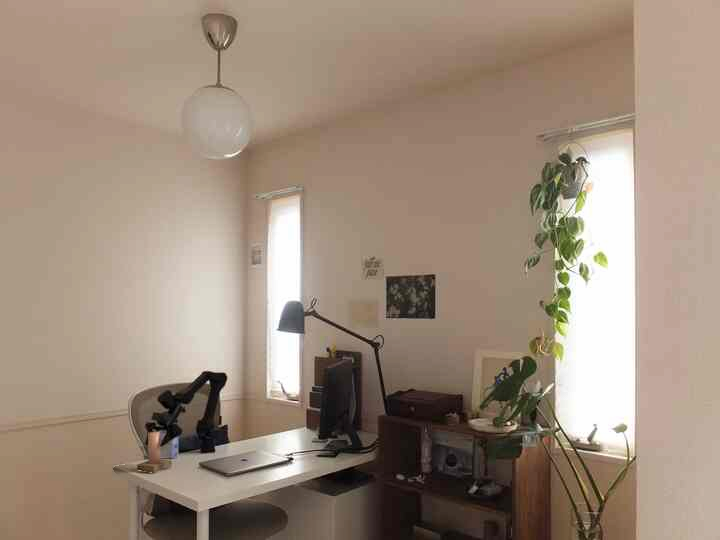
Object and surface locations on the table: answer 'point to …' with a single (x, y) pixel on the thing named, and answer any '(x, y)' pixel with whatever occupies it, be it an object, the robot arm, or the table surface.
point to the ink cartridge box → (168, 447)
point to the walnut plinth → (154, 466)
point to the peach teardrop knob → (154, 447)
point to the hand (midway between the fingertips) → (153, 445)
